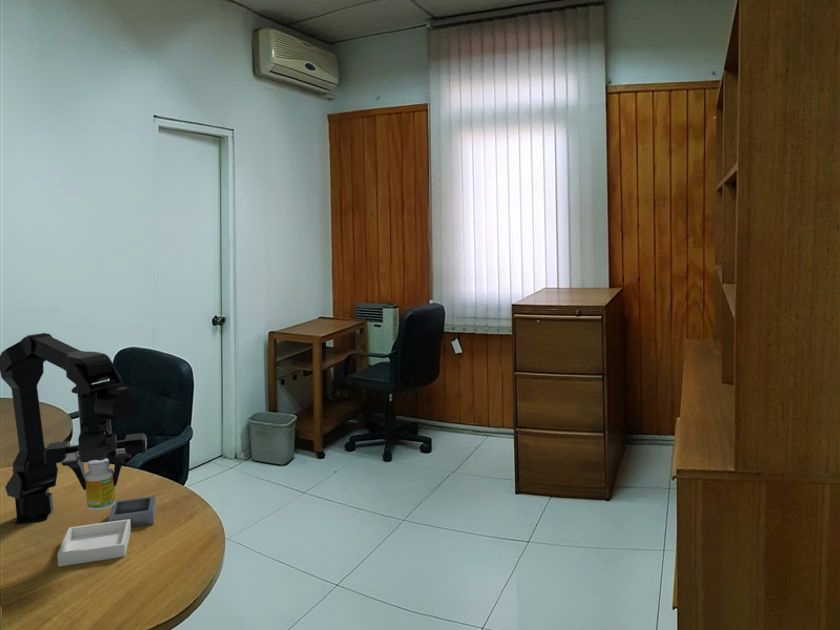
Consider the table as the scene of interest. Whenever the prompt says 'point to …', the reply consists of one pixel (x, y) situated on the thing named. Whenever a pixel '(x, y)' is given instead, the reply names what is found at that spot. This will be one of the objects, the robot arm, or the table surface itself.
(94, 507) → the supplement bottle
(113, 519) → the can holder
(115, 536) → the tray
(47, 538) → the table surface
